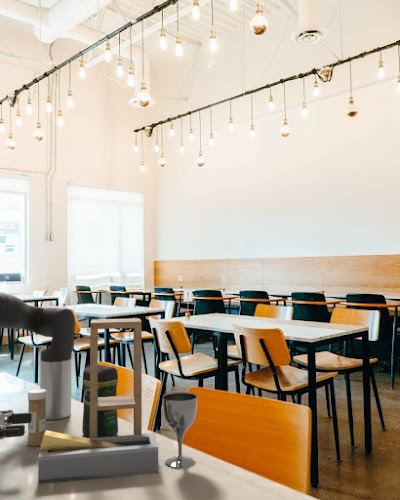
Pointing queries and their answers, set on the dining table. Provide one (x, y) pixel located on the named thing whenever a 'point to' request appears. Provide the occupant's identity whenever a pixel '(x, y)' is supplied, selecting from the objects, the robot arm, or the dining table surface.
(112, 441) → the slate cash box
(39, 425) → the sprinkles bottle
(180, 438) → the wine glass
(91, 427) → the walnut stand
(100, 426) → the coffee jar
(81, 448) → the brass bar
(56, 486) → the dining table surface
